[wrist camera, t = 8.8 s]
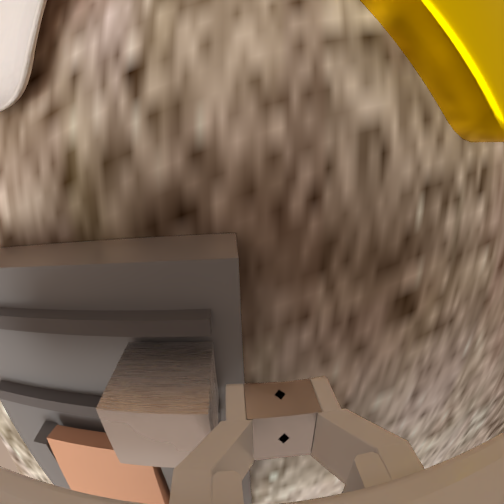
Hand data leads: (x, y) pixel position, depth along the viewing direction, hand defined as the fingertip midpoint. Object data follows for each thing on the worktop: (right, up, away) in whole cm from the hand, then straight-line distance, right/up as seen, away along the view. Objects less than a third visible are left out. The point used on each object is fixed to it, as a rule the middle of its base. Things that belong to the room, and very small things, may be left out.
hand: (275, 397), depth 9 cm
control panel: (-8, -6, +7) cm, 12 cm away
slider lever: (-4, 0, +2) cm, 4 cm away
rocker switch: (-7, -7, +2) cm, 10 cm away
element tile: (+12, +20, +3) cm, 23 cm away
